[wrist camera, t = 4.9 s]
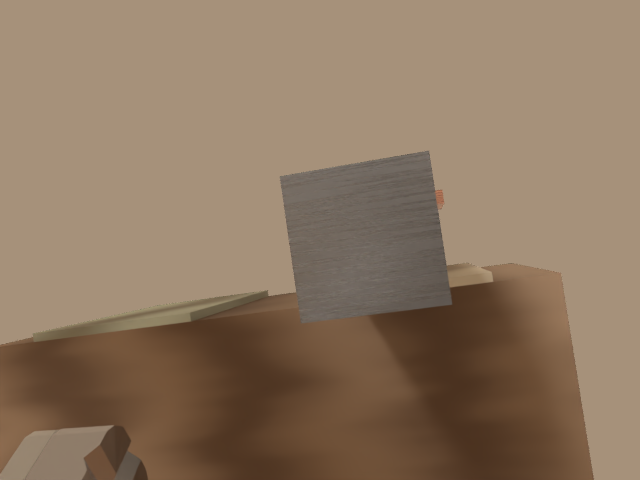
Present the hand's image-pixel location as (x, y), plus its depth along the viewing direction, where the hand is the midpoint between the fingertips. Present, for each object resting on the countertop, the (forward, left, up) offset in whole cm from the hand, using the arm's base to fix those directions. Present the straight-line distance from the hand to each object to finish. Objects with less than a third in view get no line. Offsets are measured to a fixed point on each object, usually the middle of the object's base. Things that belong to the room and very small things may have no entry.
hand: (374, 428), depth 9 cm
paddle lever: (0, +12, +2) cm, 12 cm away
